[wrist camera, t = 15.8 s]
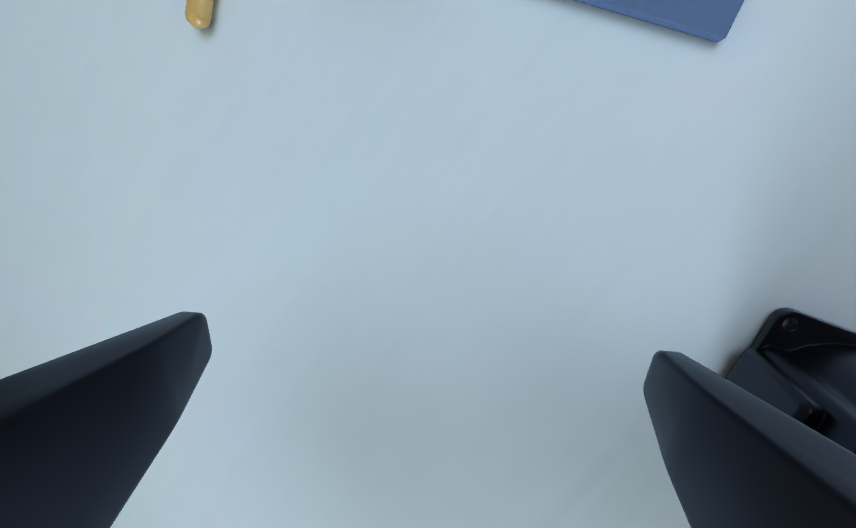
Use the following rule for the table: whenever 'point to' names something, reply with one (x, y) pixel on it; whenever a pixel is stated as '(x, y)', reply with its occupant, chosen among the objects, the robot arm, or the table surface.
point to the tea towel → (680, 14)
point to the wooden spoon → (199, 12)
